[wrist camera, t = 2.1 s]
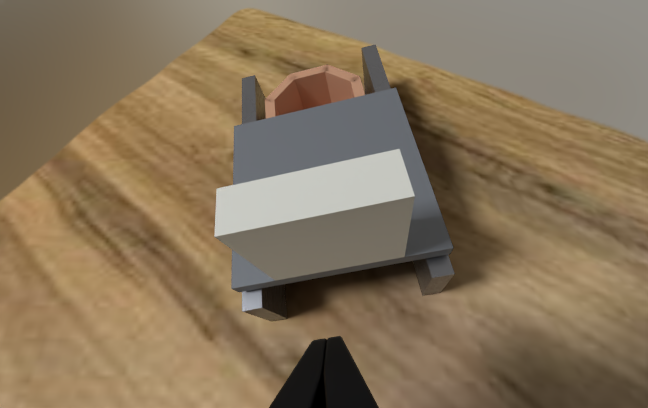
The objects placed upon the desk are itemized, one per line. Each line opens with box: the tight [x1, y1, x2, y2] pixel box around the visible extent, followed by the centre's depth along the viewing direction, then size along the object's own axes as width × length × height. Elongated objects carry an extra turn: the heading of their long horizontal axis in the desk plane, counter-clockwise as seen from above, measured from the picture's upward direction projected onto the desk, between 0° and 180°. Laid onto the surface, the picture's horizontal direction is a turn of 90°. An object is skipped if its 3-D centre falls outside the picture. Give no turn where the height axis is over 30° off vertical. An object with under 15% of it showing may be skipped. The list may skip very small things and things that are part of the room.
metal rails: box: [242, 45, 455, 321], centre depth 24 cm, size 20×12×5 cm, turn 8°
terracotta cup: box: [265, 65, 365, 118], centre depth 26 cm, size 8×8×5 cm
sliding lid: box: [215, 88, 453, 292], centre depth 16 cm, size 12×12×8 cm
